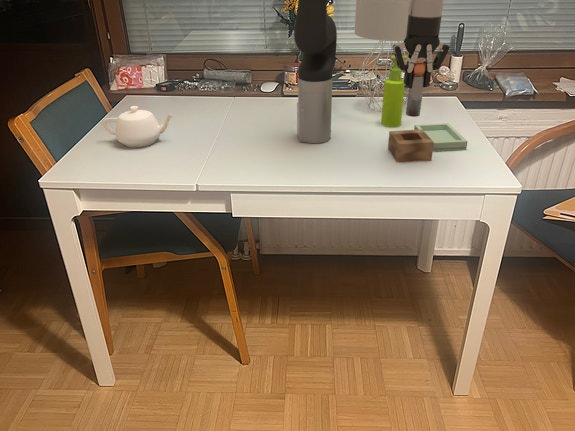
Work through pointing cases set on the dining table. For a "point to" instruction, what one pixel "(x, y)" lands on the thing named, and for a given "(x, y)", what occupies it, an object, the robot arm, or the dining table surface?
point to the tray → (443, 137)
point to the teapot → (136, 127)
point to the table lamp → (381, 30)
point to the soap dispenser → (393, 97)
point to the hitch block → (410, 145)
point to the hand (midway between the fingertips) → (416, 86)
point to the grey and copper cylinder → (416, 89)
